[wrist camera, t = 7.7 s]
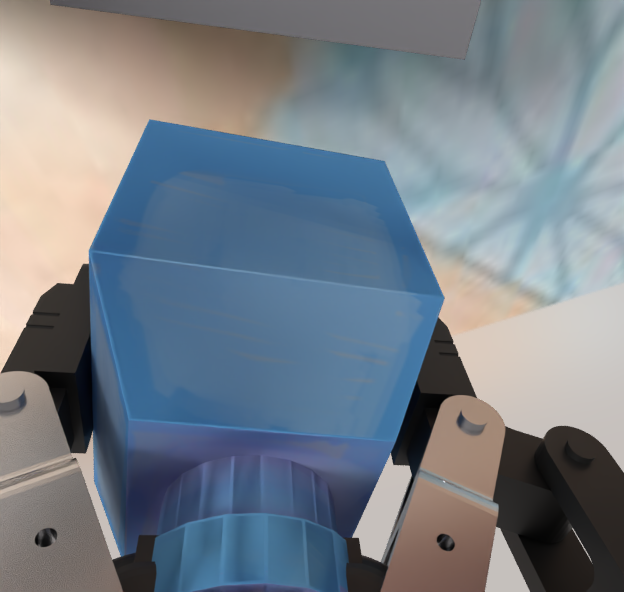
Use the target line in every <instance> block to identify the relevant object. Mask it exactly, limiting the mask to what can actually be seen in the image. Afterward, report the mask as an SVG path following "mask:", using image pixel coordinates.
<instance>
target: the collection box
mask: <svg viewBox="0 0 624 592" xmlns="http://www.w3.org/2000/svg"><path fill="white" fill-rule="evenodd" d="M50 3H51V5H57V6H65V7H72V8H80V9H88V10H95V11H103V12H110V13H118V14H125V15H133V16H140V17H148V18H155V19H163V20H170V21H178V22H185V23H193V24H200V25H208V26H216V27H223V28H231V29H238V30H246V31H253V32H261V33H268V34H276V35H283V36H291V37H298V38H306V39H313V40H321V41H328V42H336V43H344V44H351V45H359V46H366V47H374V48H381V49H389V50H396V51H404V52H411V53H419V54H426V55H434V56H441V57H449V58H457V59H464V60H465V57H466V53H467V49H468V46H469V42H470V39H471V35H472V31H473V28H474V24H475V21H476V17H477V13H478V10H479V6H480V3H481V0H50Z"/></svg>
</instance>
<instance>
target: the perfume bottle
mask: <svg viewBox="0 0 624 592" xmlns="http://www.w3.org/2000/svg"><path fill="white" fill-rule="evenodd" d="M89 279H90V322H91V366H92V410H93V449H94V450H93V453H94V482H95V485H96V487H97V491H98V493H99V496H100V498H101V502H102V505H103V507H104V510H105V513H106V516H107V518H108V521H109V524H110V527H111V530H112V533H113V535H114V538H115V541H116V544H117V547H118V550H119V552H120V555H121V557H122V556H124V555H128V554H132V553H135V552H136V548H137V543H138V537H139V535H160V536H158V537H156V538H155V543H154V550H153V556H152V561H155V564H156V571H157V574H156V582H155V589H154V592H348V587H347V579H346V564H347V563H349V559H348V551H347V543H346V540H345V539H344V538H352V536H353V533H354V532H355V530H356V527H357V525H358V523H359V521H360V519H361V517H362V514H363V512H364V510H365V508H366V506H367V503H368V501H369V499H370V497H371V495H372V492H373V490H374V488H375V486H376V484H377V482H378V479H379V477H380V475H381V473H382V471H383V468H384V466H385V464H386V462H387V460H388V458H389V455H390V453H391V451H392V449H393V447H394V444H395V442H396V439H397V436H398V434H399V431H400V428H401V425H402V422H403V419H404V416H405V413H406V410H407V407H408V404H409V401H410V398H411V395H412V392H413V389H414V386H415V384H416V381H417V378H418V375H419V372H420V369H421V366H422V363H423V360H424V357H425V354H426V351H427V348H428V345H429V342H430V339H431V336H432V334H433V331H434V328H435V325H436V322H437V319H438V316H439V313H440V310H441V307H442V304H443V301H444V296H443V293H442V291H441V289H440V287H439V284H438V282H437V280H436V277H435V275H434V273H433V271H432V268H431V266H430V264H429V262H428V259H427V257H426V255H425V252H424V250H423V248H422V246H421V243H420V241H419V239H418V236H417V234H416V232H415V230H414V227H413V225H412V223H411V220H410V218H409V216H408V214H407V211H406V209H405V207H404V205H403V202H402V200H401V198H400V195H399V193H398V191H397V189H396V186H395V184H394V182H393V179H392V177H391V175H390V173H389V170H388V168H387V166H386V164H385V161H381V160H375V159H369V158H364V157H358V156H352V155H347V154H341V153H336V152H330V151H324V150H319V149H313V148H307V147H302V146H296V145H291V144H285V143H279V142H274V141H268V140H263V139H257V138H251V137H246V136H240V135H234V134H229V133H223V132H218V131H212V130H206V129H201V128H195V127H189V126H184V125H178V124H173V123H167V122H161V121H156V120H150V119H149V122H148V124H147V126H146V128H145V130H144V132H143V135H142V137H141V139H140V141H139V143H138V145H137V148H136V150H135V152H134V154H133V156H132V158H131V161H130V163H129V165H128V167H127V169H126V171H125V173H124V176H123V178H122V180H121V182H120V184H119V186H118V189H117V191H116V193H115V195H114V197H113V199H112V202H111V204H110V206H109V208H108V210H107V212H106V215H105V217H104V219H103V221H102V223H101V225H100V228H99V230H98V232H97V234H96V236H95V238H94V241H93V243H92V245H91V247H90V249H89Z"/></svg>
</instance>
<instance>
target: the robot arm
mask: <svg viewBox="0 0 624 592" xmlns="http://www.w3.org/2000/svg"><path fill="white" fill-rule="evenodd" d="M92 432H93V410H92V366H91V322H90V279H89V264H83V265H82V267H81V269H80V271H79V273H78V276H77V278H76V280H75V282H74V284H62V283H57V284H56V285H55V286H53V287H52V288H51V289H50V290H48V291H47V292H46V293H44V294H43V295H42V296H41V297H40V299H39V301H38V303H37V305H36V307H35V308H34V310H33V315H31V316H30V318H29V320H28V322H27V324H26V328H24V329H23V331H22V333H21V335H20V337H19V339H18V341H17V343H16V345H15V347H14V349H13V350H12V352H11V354H10V356H9V358H8V360H7V362H6V364H5V366H4V368H3V369H2V371H1V373H0V592H154V589H155V582H156V574H157V571H156V564H155V561H152V556H153V550H154V543H155V538H156V537H158V536H160V535H139V537H138V543H137V548H136V552H135V553H132V554H128V555H124V556H122V557H119V558H116V559H113V560H112V558H111V555H110V552H109V550H108V547H107V544H106V541H105V538H104V535H103V532H102V529H101V526H100V523H99V520H98V518H97V515H96V512H95V509H94V506H93V503H92V500H91V497H90V494H89V492H88V489H87V486H86V483H85V480H84V477H83V475H82V471H81V469H80V466H79V464H78V461H77V459H76V458H74V459H73V457H72V455H71V453H86V451H87V448H88V445H89V441H90V438H91V435H92ZM391 456H392V460H393V464H394V465H409V466H410V470H411V473H412V476H411V479H410V481H409V483H408V486H407V489H406V492H405V495H404V498H403V501H402V503H401V506H400V509H399V512H398V515H397V518H396V520H395V524H394V526H393V529H392V532H391V535H390V538H389V541H388V543H387V547H386V549H385V552H384V555H383V557H382V560H381V562H379V561H376V560H374V559H372V558H369V557H366V556H362V555H361V549H360V544H359V538H344V539H345V540H346V543H347V551H348V559H349V563H347V564H346V579H347V587H348V592H485V587H486V581H487V575H488V569H489V564H490V558H491V552H492V546H493V540H494V535H495V529H496V527H498V528H500V529H501V531H502V533H503V535H504V537H505V540H506V541H507V544H508V546H509V548H510V550H511V552H512V554H513V556H514V558H515V561H516V563H517V565H518V567H519V569H520V571H521V573H522V575H523V577H524V579H525V582H526V584H527V586H528V588H529V590H530V592H624V473H623V471H622V470H621V468H620V467H619V466H618V464H617V463H616V461H615V460H614V459H613V457H612V456H611V455H610V453H609V452H608V451H607V449H606V448H605V447H604V446H603V445H602V444H601V443H600V442H599V441H598V440H597V439H596V438H594V437H593V436H591V435H590V434H588V433H586V432H584V431H582V430H579V429H577V428H574V427H569V426H557V427H554V428H552V429H550V430H549V431H548V432H547V433H546V435H545V437H544V438H543V439H542V438H538V437H535V436H532V435H529V434H525V433H522V432H519V431H516V430H513V429H510V428H508V427H506V426H505V424H504V422H503V419H502V418H501V416H500V415H499V413H498V412H497V411H496V410H495V409H494V408H493V407H491V406H490V405H489V404H487V403H486V402H484V401H482V400H480V399H478V398H477V397H476V395H475V392H474V390H473V387H472V385H471V383H470V380H469V378H468V375H467V373H466V370H465V368H464V366H463V364H462V361H461V359H460V357H458V351H457V349H456V347H455V345H454V344H453V339H452V337H451V335H450V332H449V330H448V327H447V326H446V325H445V324H444V323H443V322H442V321H441V320H440V319H439V318H438V319H437V322H436V325H435V328H434V331H433V334H432V336H431V339H430V342H429V345H428V348H427V351H426V354H425V357H424V360H423V363H422V366H421V369H420V372H419V375H418V378H417V381H416V384H415V386H414V389H413V392H412V395H411V398H410V401H409V404H408V407H407V410H406V413H405V416H404V419H403V422H402V425H401V428H400V431H399V434H398V436H397V439H396V442H395V444H394V447H393V449H392V451H391ZM572 528H573V529H574V531H575V532H576V534H577V536H578V537H579V539H580V541H581V543H582V544H583V546H584V548H585V549H586V551H587V553H588V554H589V556H590V558H591V561H592V562H591V561H590V559H589V557H588V556H587V554H586V552H585V551H584V549H583V547H582V545H581V543H580V542H579V540H578V538H577V536H576V535H575V533H574V531H573V530H572ZM592 563H593V564H592Z"/></svg>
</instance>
